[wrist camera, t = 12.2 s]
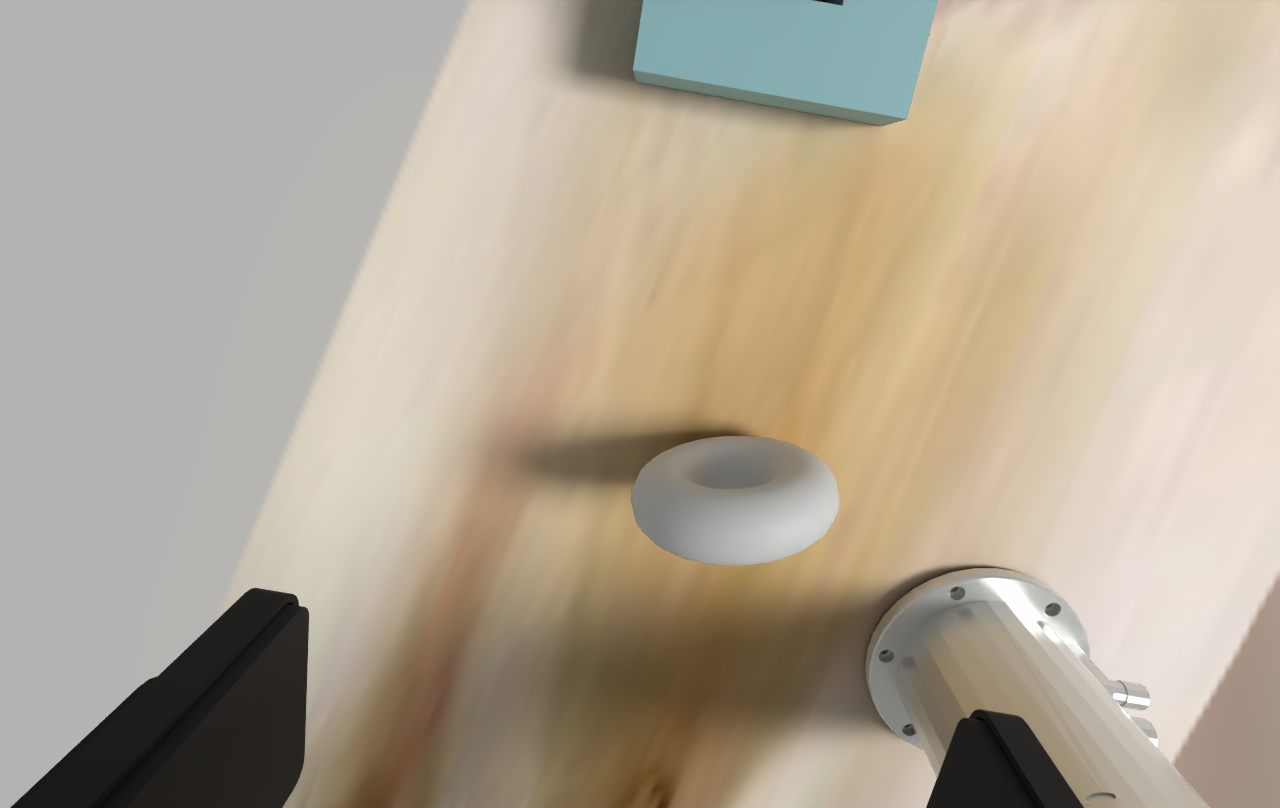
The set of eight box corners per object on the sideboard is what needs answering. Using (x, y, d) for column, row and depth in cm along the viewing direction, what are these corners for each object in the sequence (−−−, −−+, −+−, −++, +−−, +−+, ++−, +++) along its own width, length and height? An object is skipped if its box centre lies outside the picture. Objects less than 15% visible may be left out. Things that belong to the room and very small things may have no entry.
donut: (637, 490, 40) (628, 586, 30) (632, 433, 39) (621, 512, 29) (816, 480, 39) (864, 574, 29) (815, 421, 38) (866, 499, 28)
